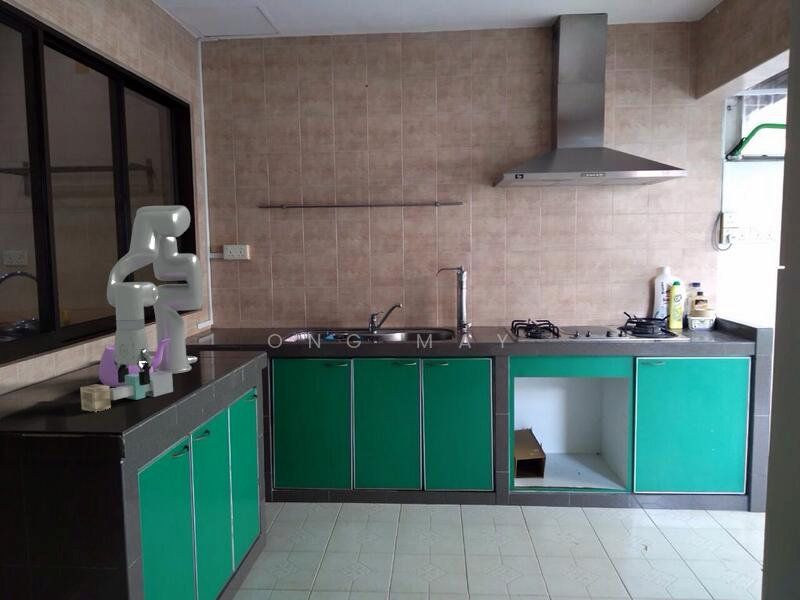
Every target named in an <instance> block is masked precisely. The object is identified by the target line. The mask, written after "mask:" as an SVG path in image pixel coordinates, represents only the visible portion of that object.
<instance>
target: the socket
mask: <svg viewBox="0 0 800 600" xmlns="http://www.w3.org/2000/svg"><path fill="white" fill-rule="evenodd" d="M79 389H80V401H81V402H80V403H81V404H80V405H81V410H82V411H88V412H92V411H94V412H93V413H98V412H97V411H99V412H103V411H106V410H110V409H112V408H111V407H112V405H111V403H112V401H111V400H110V389H111V387H109V386H105V385H103V384H96V383H95V384H94V383H93V384H90V385H86V386H81V387H80V388H79ZM109 408H110V409H109ZM105 409H106V410H105Z"/></svg>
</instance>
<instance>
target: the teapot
mask: <svg viewBox="0 0 800 600" xmlns="http://www.w3.org/2000/svg"><path fill="white" fill-rule="evenodd" d="M169 340H170V339H166V340H162V341H160V342H159V344H158V346H157V347H156V353H155V354H154V355H153V357H154V359H153V362H152V366H151V370H150V373H152V372H154V370H155V369H156V368H158V367H159V365H160V363H161V360H162V355H163V348H164V346H165V344H166V343H167V342H168V341H169ZM113 353H115V343H113V344H109V345H107V346H106V347H105V348H104V349H103V353H102V355H101V358H100V361H99V368H98V378H99V381H100V382H101V384H102V385H105V386H109V388H111V387H120V386H124V385H125V382H123V383H119V382H118V370H119V369H116V364H115V363H114V361H115V360H114V358H113ZM142 366H144V364H143V365H142ZM126 368H128V372H129V374H139V372H141V371H140V370H139V368H138V366H137V364H136V365H133V366H132V365H127V367H126Z"/></svg>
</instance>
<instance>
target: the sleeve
mask: <svg viewBox="0 0 800 600" xmlns="http://www.w3.org/2000/svg"><path fill="white" fill-rule="evenodd" d="M150 380H151V391H148V392H145V397H147V396H148V397H154V398H155V397H158V396H162V395H165V394H169V393H173V392H174V386H173V385H174V384H173V383H174V382H173V380H174V379H173V374H172V372H163V371H157V372H152V373H150Z"/></svg>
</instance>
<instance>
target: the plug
mask: <svg viewBox="0 0 800 600" xmlns="http://www.w3.org/2000/svg"><path fill="white" fill-rule="evenodd" d="M148 391H151V380H150V384H147V385H142V386H141V385H140V384H139V374H129V375H125V385H124V386H120V387H116V388H111V387H110V401H116V400H119V399H123V398H126V399H129V400H130V399H131V400H134V401H135V400H141V399H144V398H146V395H145V392H148Z"/></svg>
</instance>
